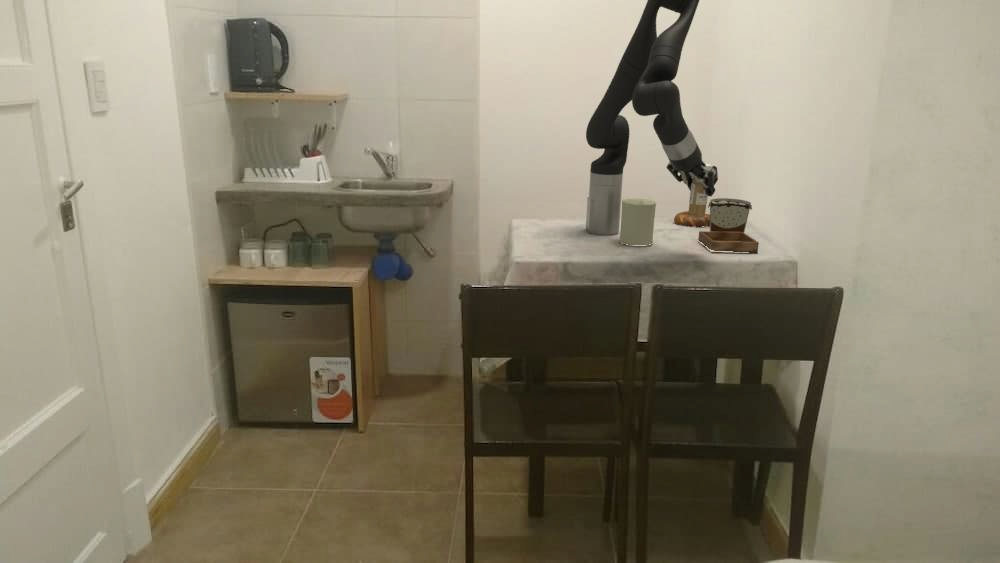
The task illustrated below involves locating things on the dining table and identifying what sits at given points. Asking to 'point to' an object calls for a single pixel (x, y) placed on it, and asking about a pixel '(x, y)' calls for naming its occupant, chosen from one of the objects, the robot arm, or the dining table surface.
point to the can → (637, 221)
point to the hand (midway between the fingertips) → (703, 192)
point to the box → (728, 241)
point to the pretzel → (691, 220)
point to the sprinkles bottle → (698, 199)
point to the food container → (728, 214)
